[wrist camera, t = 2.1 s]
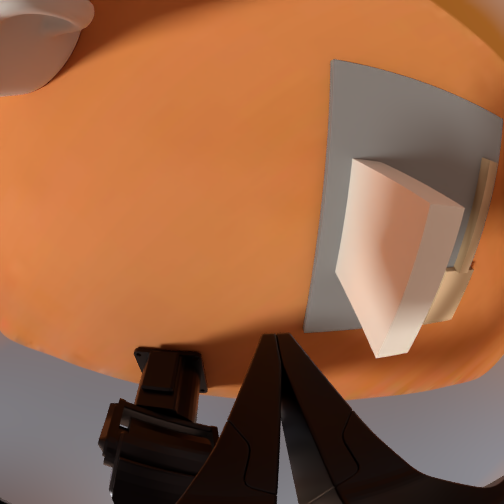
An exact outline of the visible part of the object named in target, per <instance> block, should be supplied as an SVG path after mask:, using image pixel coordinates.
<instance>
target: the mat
mask: <svg viewBox="0 0 504 504" xmlns="http://www.w3.org/2000/svg"><path fill="white" fill-rule="evenodd" d="M502 127H503V119H502V118H500V117H498V116H497V115H495V114H493V113H491V112H489V111H487V110H486V109H484V108H482V107H480V106H478V105H476V104H474V103H472V102H469V101H467V100H465V99H463V98H461V97H459V96H456V95H454V94H452V93H449V92H447V91H444V90H442V89H440V88H437V87H434V86H432V85H429V84H426V83H423V82H421V81H418V80H415V79H412V78H409V77H406V76H402V75H399V74H396V73H392V72H389V71H385V70H381V69H377V68H373V67H369V66H365V65H361V64H356V63H351V62H346V61H341V60H335V59H333V60H331V69H330V102H329V122H328V138H327V151H326V164H325V175H324V185H323V195H322V204H321V213H320V221H319V229H318V237H317V244H316V252H315V259H314V265H313V272H312V278H311V285H310V291H309V297H308V303H307V308H306V314H305V319H304V325H303V330H304V333H312V332H327V331H339V330H350V329H361V328H362V326H361V324H360V322H359V320H358V317H357V315H356V313H355V311H354V309H353V307H352V305H351V303H350V301H349V299H348V297H347V295H346V293H345V290H344V288H343V286H342V284H341V282H340V280H339V278H338V276H337V275H336V273H335V270H336V265H337V260H338V254H339V249H340V243H341V238H342V232H343V226H344V219H345V213H346V206H347V199H348V191H349V184H350V175H351V167H352V158H353V159H362V160H370V161H378V162H382V163H384V164H386V165H388V166H390V167H392V168H395V169H397V170H399V171H401V172H403V173H405V174H406V175H408V176H410V177H412V178H414V179H416V180H418V181H420V182H422V183H424V184H425V185H427V186H429V187H431V188H433V189H434V190H436V191H438V192H440V193H441V194H443V195H445V196H446V197H448V198H450V199H451V200H453V201H455V202H456V203H458V204H459V205H461V206H463V207H464V208H465V210H464V213H463V217H462V221H461V225H460V228H459V232H458V235H457V238H456V241H455V244H454V248H453V251H452V254H451V257H450V259H449V262H448V265H447V268H451V267H454V264H455V261H456V259H457V256H458V253H459V250H460V247H461V244H462V241H463V238H464V234H465V231H466V228H467V224H468V221H469V217H470V213H471V209H472V205H473V201H474V197H475V192H476V188H477V183H478V178H479V172H480V167H481V160H482V157H483V158H485V159H488V160H491V161H493V162H496V163H498V161H499V155H500V147H501V138H502ZM497 168H498V166H497ZM496 173H497V171H496ZM495 179H496V177H495ZM494 184H495V182H494ZM493 189H494V187H493ZM492 193H493V192H492ZM491 198H492V196H491ZM490 202H491V200H490ZM489 206H490V204H489ZM488 210H489V208H488ZM487 214H488V212H487ZM486 217H487V216H486ZM485 221H486V220H485ZM484 224H485V223H484ZM483 228H484V227H483ZM482 231H483V230H482ZM481 234H482V233H481ZM480 237H481V236H480ZM479 240H480V239H479ZM478 244H479V242H478ZM477 246H478V245H477ZM476 249H477V248H476ZM475 252H476V251H475ZM474 255H475V254H474ZM473 258H474V257H473ZM472 261H473V260H472ZM471 263H472V262H471ZM470 266H471V265H470Z"/></svg>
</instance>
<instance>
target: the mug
mask: <svg viewBox="0 0 504 504" xmlns="http://www.w3.org/2000/svg"><path fill="white" fill-rule="evenodd" d="M94 13H95V12H94V6H93V5H92V3H91V2H90V1H89V0H0V97H1V96H13V95H22V94H27V93H31V92H33V91H36V90H37V89H39V88H41V87H42V86H44V85H45V84H47V83H48V82H49V81H50V80H51V79H52V78H53V77H54V76H55V75H56V74H57V73H58V72H59V71H60V69H61V68H62V67H63V66H64V64H65V63H66V61H67V60H68V58H69V57H70V55H71V53H72V51H73V49H74V48H75V45H76V43H77V41H78V38H79V35H80V32H81V30H82V29H84V28H86V27H87V26H88V25H89V24H90V23H91V21H92V20H93V18H94Z"/></svg>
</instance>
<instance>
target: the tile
mask: <svg viewBox="0 0 504 504" xmlns="http://www.w3.org/2000/svg"><path fill="white" fill-rule="evenodd" d="M464 210H465V208H464V207H463V206H461V205H459V204H458V203H456V202H455V201H453V200H451V199H450V198H448V197H446V196H445V195H443V194H441V193H440V192H438V191H436V190H434V189H433V188H431V187H429V186H427V185H425V184H424V183H422V182H420V181H418V180H416V179H414V178H412V177H410V176H408V175H406V174H405V173H403V172H401V171H399V170H397V169H395V168H392V167H390V166H388V165H386V164H384V163H382V162H378V161H370V160H362V159H353V158H352V167H351V175H350V184H349V191H348V199H347V206H346V213H345V219H344V226H343V232H342V238H341V243H340V249H339V254H338V260H337V265H336V270H335V273H336V275H337V276H338V278H339V280H340V282H341V284H342V286H343V288H344V290H345V293H346V295H347V297H348V299H349V301H350V303H351V305H352V307H353V309H354V311H355V313H356V315H357V317H358V320H359V322H360V324H361V326H362V328H363V330H364V333H365V335H366V337H367V339H368V341H369V344H370V346H371V348H372V350H373V353H374V355H375V357H376V358H381V357H387V356H392V355H398V354H403V353H408V351H409V349H410V347H411V345H412V343H413V342H414V340H415V338H416V336H417V334H418V332H419V330H420V328H421V326H422V324H423V322H424V320H425V318H426V316H427V313H428V311H429V309H430V307H431V305H432V302H433V300H434V298H435V295H436V293H437V291H438V288H439V286H440V283H441V281H442V278H443V276H444V273H445V270H446V268H447V265H448V262H449V259H450V257H451V254H452V251H453V248H454V244H455V241H456V238H457V235H458V232H459V228H460V225H461V221H462V217H463V213H464Z"/></svg>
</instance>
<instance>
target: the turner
mask: <svg viewBox="0 0 504 504" xmlns="http://www.w3.org/2000/svg"><path fill="white" fill-rule="evenodd" d="M497 166H498V163H496V162H493V161H491V160H488V159H485V158H483V157H482V160H481V167H480V172H479V178H478V183H477V188H476V192H475V197H474V201H473V205H472V209H471V213H470V217H469V221H468V224H467V228H466V231H465V234H464V238H463V241H462V244H461V247H460V250H459V253H458V256H457V259H456V261H455V264H454V267H451V268H446V270H445V273H444V276H443V278H442V281H441V283H440V286H439V288H438V291H437V293H436V295H435V298H434V300H433V302H432V305H431V307H430V309H429V311H428V313H427V316H426V318H425V320H424V322H423V324H424V325H425V324H430V323H436V322H441V321H446V320H451V319H452V317H453V315H454V313H455V311H456V309H457V307H458V305H459V302H460V300H461V298H462V296H463V294H464V292H465V289H466V287H467V285H468V283H469V280H470V278H471V275H472V273H473V269H472V268H471V267H470V265H471V262H472V260H473V257H474V254H475V251H476V248H477V245H478V242H479V239H480V236H481V233H482V230H483V227H484V223H485V220H486V216H487V212H488V208H489V204H490V200H491V196H492V192H493V187H494V182H495V177H496V171H497Z"/></svg>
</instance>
